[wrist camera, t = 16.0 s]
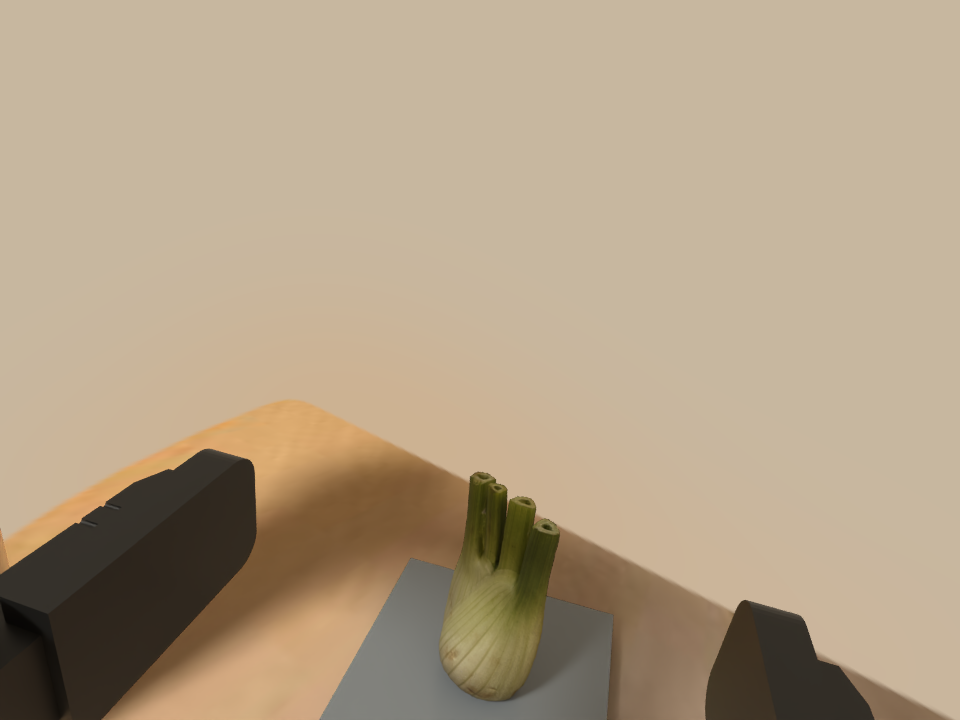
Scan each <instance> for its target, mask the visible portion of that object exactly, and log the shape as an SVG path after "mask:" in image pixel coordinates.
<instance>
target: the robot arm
mask: <svg viewBox="0 0 960 720" xmlns="http://www.w3.org/2000/svg"><path fill="white" fill-rule="evenodd" d="M255 539H256V499H255V471H254V466H253V464H252V462H251V461H250V460H248V459H245V458H241V457H238V456H234V455H230V454H227V453H223V452H220V451H216V450H213V449H204V450H202V451H200V452H198V453H197V454H195V455H194V456H193V457H191V458H190V459H188V460H187V461H186V462H184V463H183V464H181V465H180V466H179V467H177V468H176V469H174V470H170V469H168V470H165V471H162V472H160V473H157V474H155V475H152V476H150V477H147V478H145V479H142V480H139V481H137V482H134V483H133V484H131V485H130V486H128V487H127V488H125V489H124V490H123V491H121V492H120V493H118V494H117V495H115V496H114V497H112V498H111V499H109V500H108V501H107V502H106V504H105V506H104V507H101V506H99V507H98V508H96V509H95V510H93V511H92V512H91V513H89V514H88V515H86V516H85V517H83V518H82V520H81V522H80V523H79V524H78V523H74V524H73V525H72V526H70V527H69V528H67V529H66V530H64V531H63V532H61V533H60V534H58V535H57V536H56V537H54V538H53V539H51V540H50V541H48V542H47V543H45V544H44V545H42V546H41V547H40V548H38V549H37V550H35V551H34V552H32V553H31V554H29V555H28V556H26V557H25V558H23V559H22V560H21V561H19V562H18V563H16V564H15V565H13V566H12V567H9V563H8V559H7V555H6V551H5V546H4V542H3V538H2V534H1V530H0V720H101V719H102V718H103V717H104V716H105V715H106V714H107V713H108V712H109V711H110V709H111V708H112V707H113V706H114V705H115V704H116V703H117V702H118V701H119V700H120V699H121V698H122V697H123V695H124V694H125V693H126V692H127V691H128V690H129V689H130V688H131V687H132V686H133V685H134V684H135V682H136V681H137V680H138V679H139V678H140V677H141V676H142V675H143V674H144V673H145V672H146V671H147V669H148V668H149V667H150V666H151V665H152V664H153V663H154V662H155V661H156V660H157V659H158V658H159V657H160V655H161V654H162V653H163V652H164V651H165V650H166V649H167V648H168V647H169V646H170V645H171V644H172V642H173V641H174V640H175V639H176V638H177V637H178V636H179V635H180V634H181V633H182V632H183V631H184V630H185V628H186V627H187V626H188V625H189V624H190V623H191V622H192V621H193V620H194V619H195V618H196V617H197V615H198V614H199V613H200V612H201V611H202V610H203V609H204V608H205V607H206V606H207V605H208V604H209V602H210V601H211V600H212V599H213V598H214V597H215V596H216V595H217V594H218V593H219V592H220V591H221V590H222V588H223V587H224V586H225V585H226V584H227V583H228V582H229V581H230V580H231V579H232V578H233V577H234V575H235V574H236V573H237V572H238V571H239V570H240V569H241V568H242V567H243V565H244V564H245V562H246V561H247V559H248V557H249V555H250V553H251V551H252V549H253V546H254V543H255ZM705 716H706V720H874V717H873V715H872V712H871V710H870V707H869V705H868V704H867V702H866V701H865V700H864V698H863V697H862V696H861V695H860V693H859V692H858V691H857V689H856V688H855V687H854V685H853V684H852V683H851V682H850V680H849V679H848V678H847V676H846V675H845V674H844V672H843V671H842V670H841V668H840V667H839V666H836V665H833V664H829V663H826V662H822V661H819V660H818V659H817V656H816V653H815V650H814V647H813V644H812V641H811V638H810V635H809V632H808V629H807V626H806V624H805V621H804V620H803V618H802V617H801V616H799V615H797V614H794V613H790V612H786V611H783V610H779V609H776V608H772V607H769V606H765V605H762V604H758V603H754V602H751V601H747V600H744V601H742V602H741V603H740V604H739V605H738V607H737V609H736V611H735V614H734V616H733V619H732V621H731V624H730V626H729V628H728V631H727V633H726V636H725V638H724V641H723V643H722V646H721V648H720V651H719V653H718V656H717V658H716V661H715V663H714V665H713V668H712V671H711V673H710V677H709V681H708V686H707V693H706V705H705Z"/></svg>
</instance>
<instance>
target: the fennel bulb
mask: <svg viewBox="0 0 960 720" xmlns="http://www.w3.org/2000/svg"><path fill="white" fill-rule="evenodd" d="M506 511H507V488H506V487H505V486H504V485H501V484H497V483H496V479H495V478H494V477H492V476H491V475H490V474H488V473H483V472H477V473H474V474H473V475H472V476H470V487H469V499H468V512H467V521H466V528H465V537H464V542H463V547H462V552H461V555H460V558H459V561H458V563H457V565H456V568H455V571H454V574H453V578H452V581H451V585H450V589H449V594H448V599H447V604H446V608H445V612H444V619H443V627H442V631H441V636H440V640H439V655H440V661H441V663H442V666H443V669H444V671H445V672H446V673H447V674H448V676H449V678H450V679H451V680H452V681H453V682H454V683H455V684H456V685H457V686H458V687H459V688H460V689H461V690H462V691H464V692H465V693H467V694H469V695H471V696H472V697H475V698H477V699H481V700H485V701H502V700H507V699H510V698H511V697H512V696H513V695H514V694H515V693H516V691H518V690H519V689H520V688H521V687H522V686H523V685H524V683H525V681H526V680H527V677H528V675H529V673H530V671H531V668H532V665H533V662H534V659H535V658H536V655H537V650H538V646H539V643H540V639H541V634H542V626H543V620H544V610H545V602H546V597H547V589H548V581H549V577H550V573H551V569H552V566H553V561H554V556H555V552H556V550H557V547H558V543H559V537H560V532H559V529H557V527H556V524H554V522H552V521H550V520H549V519H546V518H545V519H542V520H540V521H538V522H537V523H536V524H535V525H534V526H533V524H534V517H535V512H536V505H535V503H534V501H533V500H532V499H530V498H527V497H515V498H513V499H510V501H509V505H508V511H507V513H506ZM506 514H507V517H506Z"/></svg>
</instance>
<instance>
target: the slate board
mask: <svg viewBox="0 0 960 720" xmlns="http://www.w3.org/2000/svg"><path fill="white" fill-rule="evenodd" d="M454 571H455V570H452V569H449V568H445V567H441V566H438V565H434V564H431V563H427V562H424V561H420V560H417V559H413V558H410V560H409V562H408V564H407V566H406V567H405V569H404V571H403V573H402V574H401V576H400V578H399V580H398V581H397V583H396V585H395V587H394V589H393V590H392V592H391V594H390V596H389V597H388V599H387V601H386V603H385V604H384V606H383V608H382V610H381V612H380V613H379V615H378V617H377V619H376V620H375V622H374V624H373V626H372V627H371V629H370V631H369V633H368V635H367V636H366V638H365V640H364V642H363V643H362V645H361V647H360V649H359V650H358V652H357V654H356V656H355V658H354V659H353V661H352V663H351V665H350V666H349V668H348V670H347V672H346V673H345V675H344V677H343V679H342V681H341V682H340V684H339V686H338V688H337V689H336V691H335V693H334V695H333V696H332V698H331V700H330V702H329V704H328V705H327V707H326V709H325V711H324V712H323V714H322V716H321V718H320V719H319V720H607V710H608V694H609V678H610V662H611V646H612V630H613V615H612V614H608V613H605V612H601V611H598V610H594V609H591V608H587V607H584V606H580V605H577V604H573V603H569V602H566V601H562V600H559V599H555V598H552V597H548V596H547V597H546V602H545V610H544V620H543V626H542V634H541V639H540V643H539V646H538V650H537V655H536V658H535V659H534V662H533V665H532V668H531V671H530V673H529V675H528V677H527V680H526V681H525V683H524V685H523V686H522V687H521V688H520V689H519V690H518V691H516V693H515V694H514V695H513V696H512V697H511V698H510V699H507V700H502V701H485V700H481V699H477V698H475V697H472V696H471V695H469V694H467V693H465V692H464V691H462V690H461V689H460V688H459V687H458V686H457V685H456V684H455V683H454V682H453V681H452V680H451V679H450V678H449V676H448V674H447V673H446V672H445V671H444V669H443V666H442V663H441V661H440V655H439V640H440V636H441V631H442V627H443V619H444V612H445V608H446V604H447V599H448V594H449V589H450V585H451V581H452V578H453V574H454Z"/></svg>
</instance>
